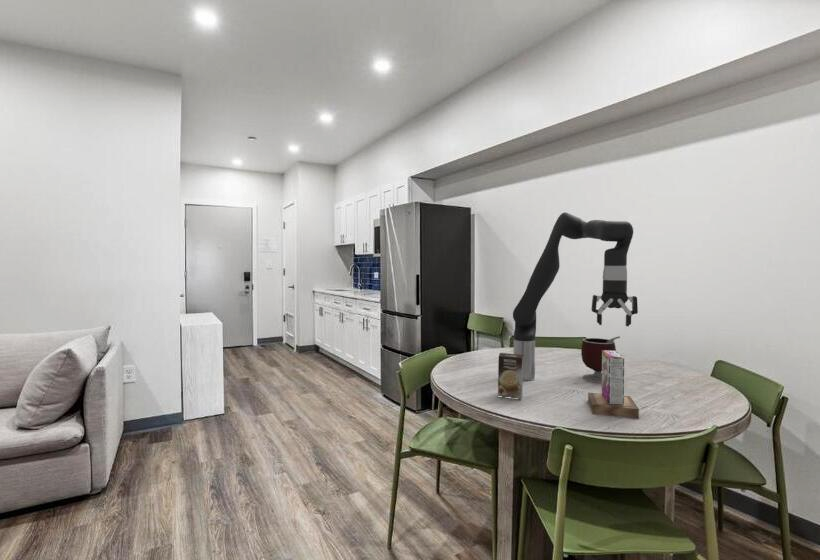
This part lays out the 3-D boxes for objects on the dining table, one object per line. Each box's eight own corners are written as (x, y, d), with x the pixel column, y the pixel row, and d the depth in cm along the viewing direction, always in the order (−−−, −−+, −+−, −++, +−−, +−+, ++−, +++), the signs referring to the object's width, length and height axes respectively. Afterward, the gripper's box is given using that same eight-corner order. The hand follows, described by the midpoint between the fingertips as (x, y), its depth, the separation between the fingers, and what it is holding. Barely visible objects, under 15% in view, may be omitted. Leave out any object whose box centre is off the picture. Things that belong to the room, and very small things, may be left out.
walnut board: (592, 413, 140) (592, 404, 140) (588, 400, 153) (588, 392, 153) (638, 418, 136) (638, 408, 136) (629, 404, 149) (630, 395, 149)
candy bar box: (600, 394, 150) (601, 349, 150) (615, 395, 149) (616, 350, 149) (608, 404, 140) (609, 356, 139) (624, 405, 138) (625, 357, 138)
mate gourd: (576, 379, 181) (577, 334, 180) (586, 373, 192) (587, 330, 191) (614, 386, 171) (615, 338, 170) (623, 379, 182) (624, 334, 181)
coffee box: (497, 397, 156) (497, 355, 156) (499, 392, 162) (499, 352, 162) (522, 400, 153) (522, 357, 153) (523, 395, 160) (523, 354, 159)
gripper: (593, 278, 141) (592, 325, 142) (640, 279, 137) (639, 328, 138) (591, 278, 148) (590, 323, 149) (635, 278, 144) (634, 325, 145)
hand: (613, 325), depth 143 cm, fingers open, 8 cm apart
